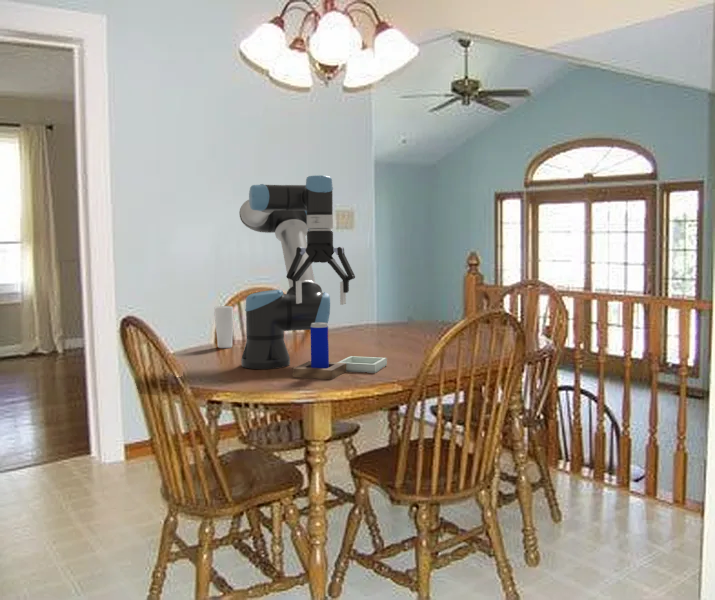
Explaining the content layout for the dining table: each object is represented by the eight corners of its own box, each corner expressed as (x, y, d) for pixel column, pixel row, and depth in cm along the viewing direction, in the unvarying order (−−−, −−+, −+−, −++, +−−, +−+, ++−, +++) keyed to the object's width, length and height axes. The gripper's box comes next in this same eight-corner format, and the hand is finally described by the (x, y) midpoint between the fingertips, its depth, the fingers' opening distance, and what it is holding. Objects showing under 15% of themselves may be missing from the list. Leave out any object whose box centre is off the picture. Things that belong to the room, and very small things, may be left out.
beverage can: (332, 374, 203) (331, 323, 202) (317, 376, 200) (316, 324, 199) (322, 371, 207) (322, 321, 206) (307, 373, 204) (307, 323, 203)
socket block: (292, 377, 200) (292, 368, 200) (309, 369, 211) (308, 361, 211) (331, 379, 196) (331, 370, 196) (346, 371, 207) (346, 363, 207)
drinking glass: (214, 346, 259) (213, 306, 257) (232, 345, 261) (231, 305, 259) (216, 349, 252) (215, 308, 251) (235, 348, 254) (234, 307, 253)
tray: (336, 370, 208) (336, 362, 208) (350, 364, 220) (350, 356, 219) (375, 373, 204) (375, 364, 204) (386, 365, 216) (386, 357, 215)
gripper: (274, 230, 200) (276, 304, 202) (357, 229, 193) (358, 305, 195) (284, 230, 207) (286, 301, 209) (365, 229, 200) (365, 303, 202)
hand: (320, 303), depth 202 cm, fingers open, 13 cm apart
